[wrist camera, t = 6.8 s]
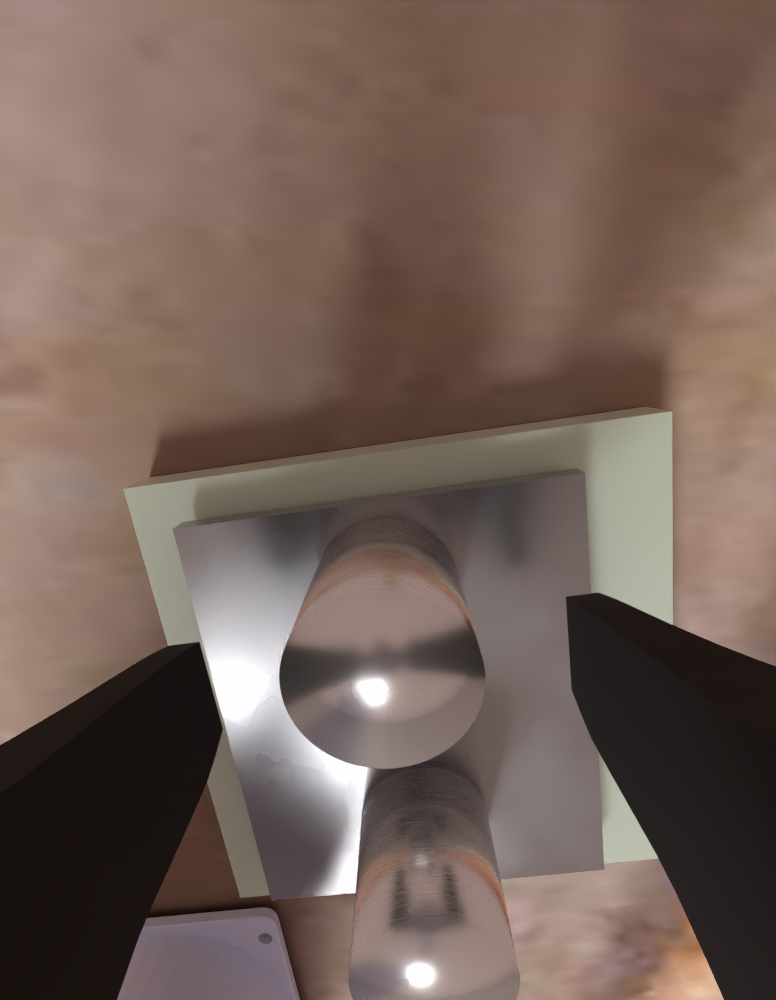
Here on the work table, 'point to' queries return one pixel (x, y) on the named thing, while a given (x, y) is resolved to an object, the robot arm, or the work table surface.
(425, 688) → the cylinder
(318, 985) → the work table surface
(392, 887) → the cylinder
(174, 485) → the scale
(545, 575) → the scale platform
